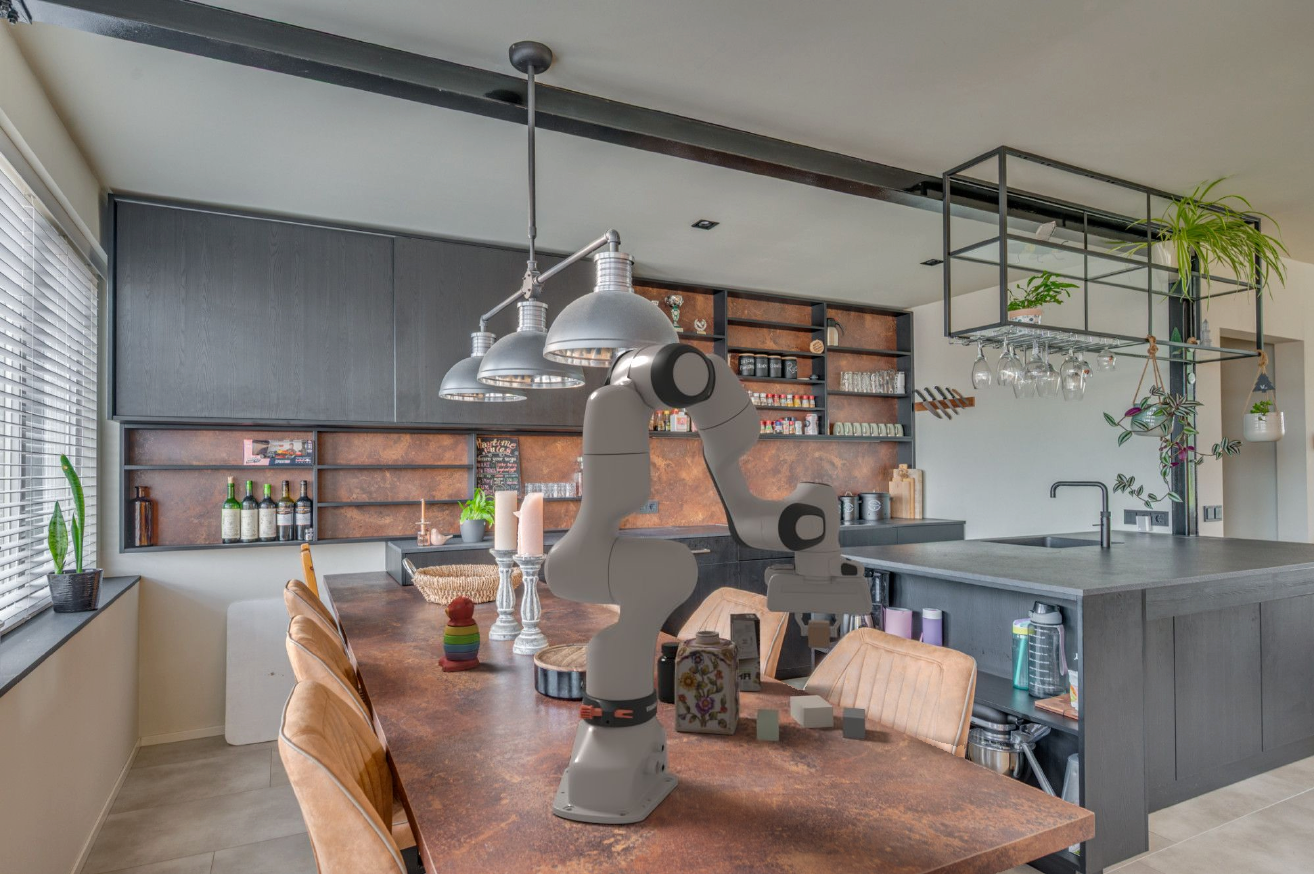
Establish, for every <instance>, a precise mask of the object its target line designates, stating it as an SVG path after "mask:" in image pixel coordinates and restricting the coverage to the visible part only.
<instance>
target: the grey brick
mask: <svg viewBox="0 0 1314 874" xmlns="http://www.w3.org/2000/svg"><path fill="white" fill-rule="evenodd" d="M841 718H842V739H853V740H862V741H863V740H864V741H866V730H867V729H866V709H865V708H859V707H858V708H857V707H845V706H844V707H843V711H842V717H841Z"/></svg>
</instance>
